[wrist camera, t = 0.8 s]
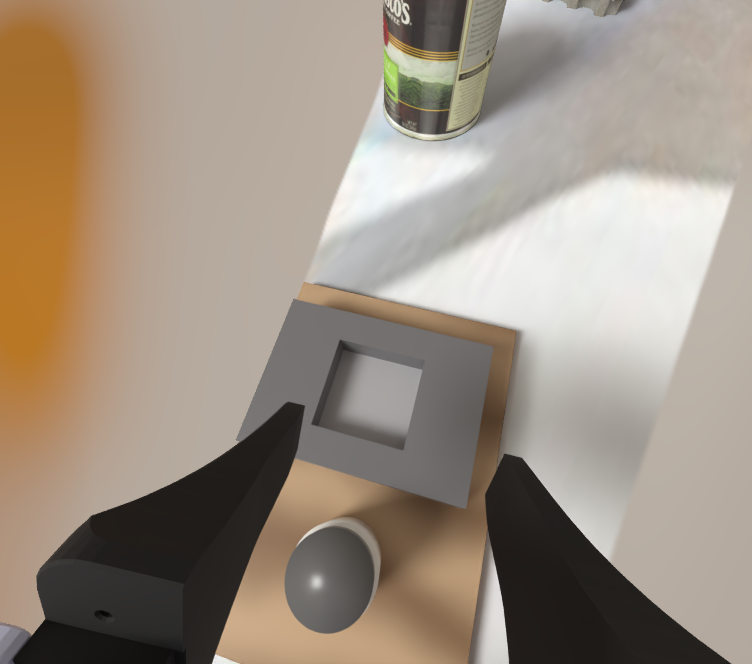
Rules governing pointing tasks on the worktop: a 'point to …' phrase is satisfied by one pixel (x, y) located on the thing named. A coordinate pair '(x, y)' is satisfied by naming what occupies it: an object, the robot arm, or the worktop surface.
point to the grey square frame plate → (378, 399)
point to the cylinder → (333, 575)
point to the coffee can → (437, 63)
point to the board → (379, 537)
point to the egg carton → (595, 6)
